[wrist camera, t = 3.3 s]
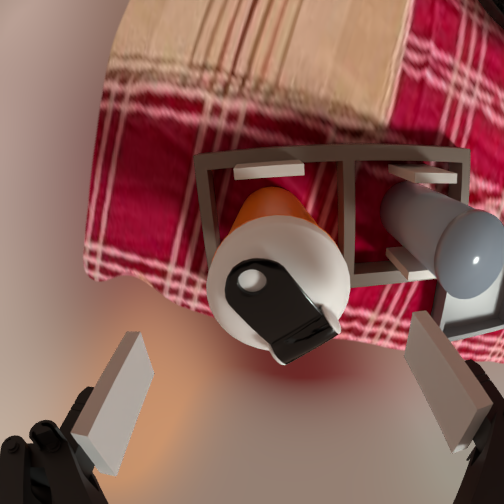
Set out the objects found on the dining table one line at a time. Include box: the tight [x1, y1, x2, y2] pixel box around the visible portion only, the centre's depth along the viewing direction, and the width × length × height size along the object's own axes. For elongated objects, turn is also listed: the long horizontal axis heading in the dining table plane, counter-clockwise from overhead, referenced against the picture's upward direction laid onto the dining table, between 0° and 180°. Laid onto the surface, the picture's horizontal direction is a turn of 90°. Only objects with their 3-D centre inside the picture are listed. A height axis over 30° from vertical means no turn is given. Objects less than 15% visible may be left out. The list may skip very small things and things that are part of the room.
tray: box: [431, 265, 504, 342], centre depth 36 cm, size 15×15×3 cm
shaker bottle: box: [206, 187, 350, 365], centre depth 26 cm, size 9×9×20 cm
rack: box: [193, 143, 470, 288], centre depth 32 cm, size 16×30×7 cm, turn 95°
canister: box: [380, 181, 504, 299], centre depth 28 cm, size 7×7×15 cm
